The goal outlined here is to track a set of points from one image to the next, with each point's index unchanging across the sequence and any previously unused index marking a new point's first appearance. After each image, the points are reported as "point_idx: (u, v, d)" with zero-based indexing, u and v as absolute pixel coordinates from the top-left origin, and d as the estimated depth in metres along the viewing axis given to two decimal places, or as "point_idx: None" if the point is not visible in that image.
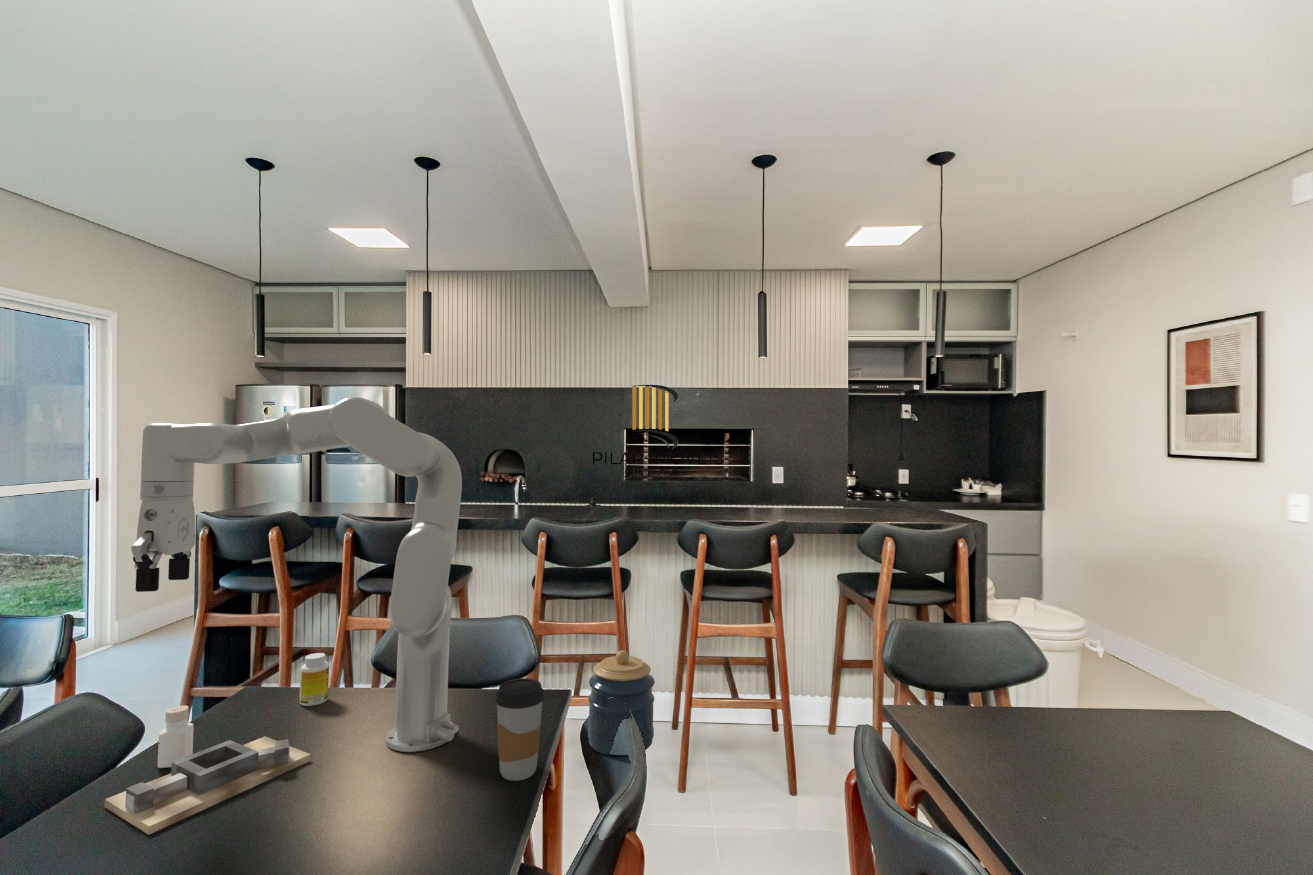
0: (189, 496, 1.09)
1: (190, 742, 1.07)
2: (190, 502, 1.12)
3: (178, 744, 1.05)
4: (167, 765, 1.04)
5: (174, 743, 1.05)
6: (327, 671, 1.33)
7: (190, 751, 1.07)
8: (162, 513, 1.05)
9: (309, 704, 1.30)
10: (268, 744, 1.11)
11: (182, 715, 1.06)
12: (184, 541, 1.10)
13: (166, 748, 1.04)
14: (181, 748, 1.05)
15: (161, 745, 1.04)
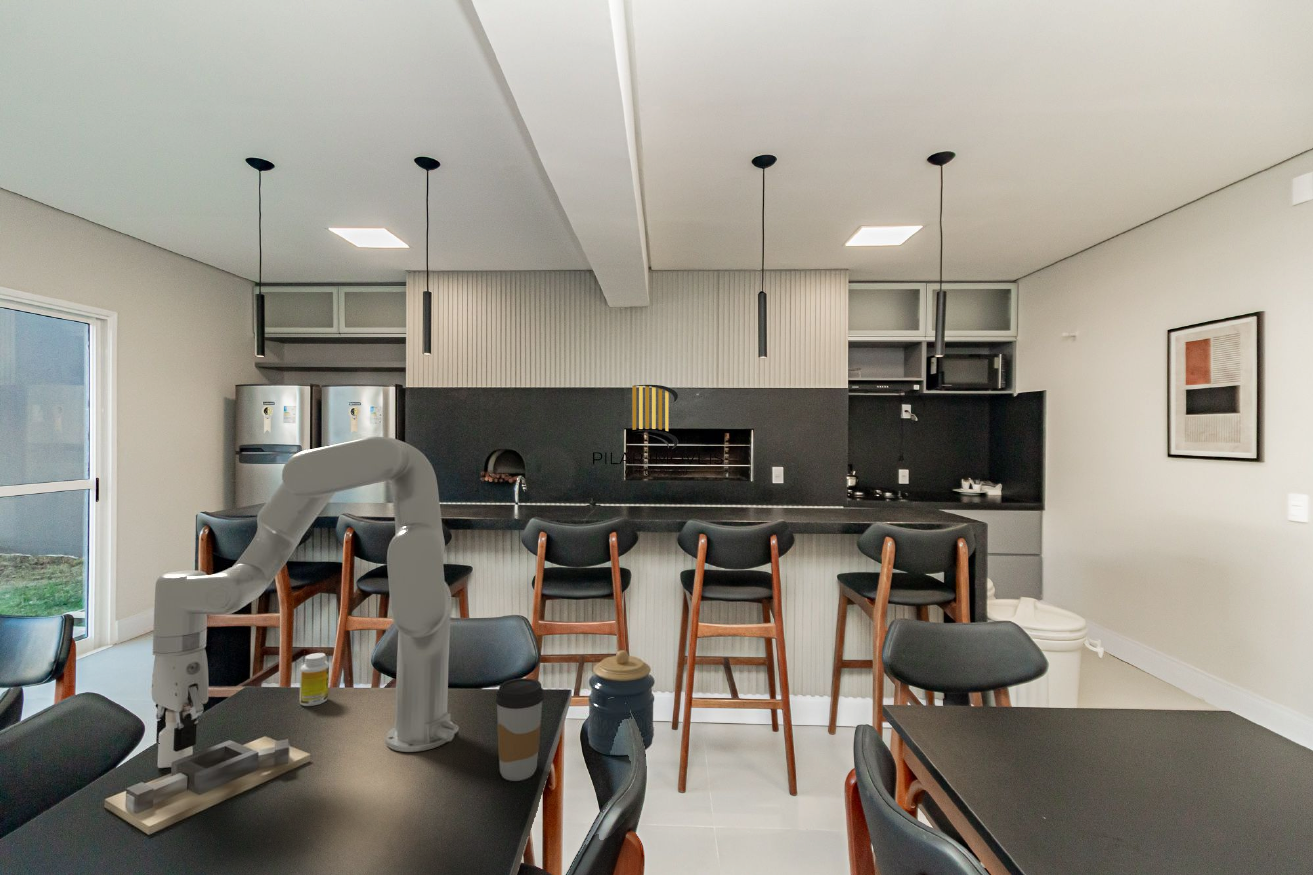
0: None
1: None
2: None
3: None
4: (167, 765, 1.04)
5: None
6: (327, 671, 1.33)
7: (190, 751, 1.07)
8: (204, 663, 1.06)
9: (309, 704, 1.30)
10: (268, 744, 1.11)
11: None
12: None
13: (166, 748, 1.04)
14: None
15: (161, 745, 1.04)
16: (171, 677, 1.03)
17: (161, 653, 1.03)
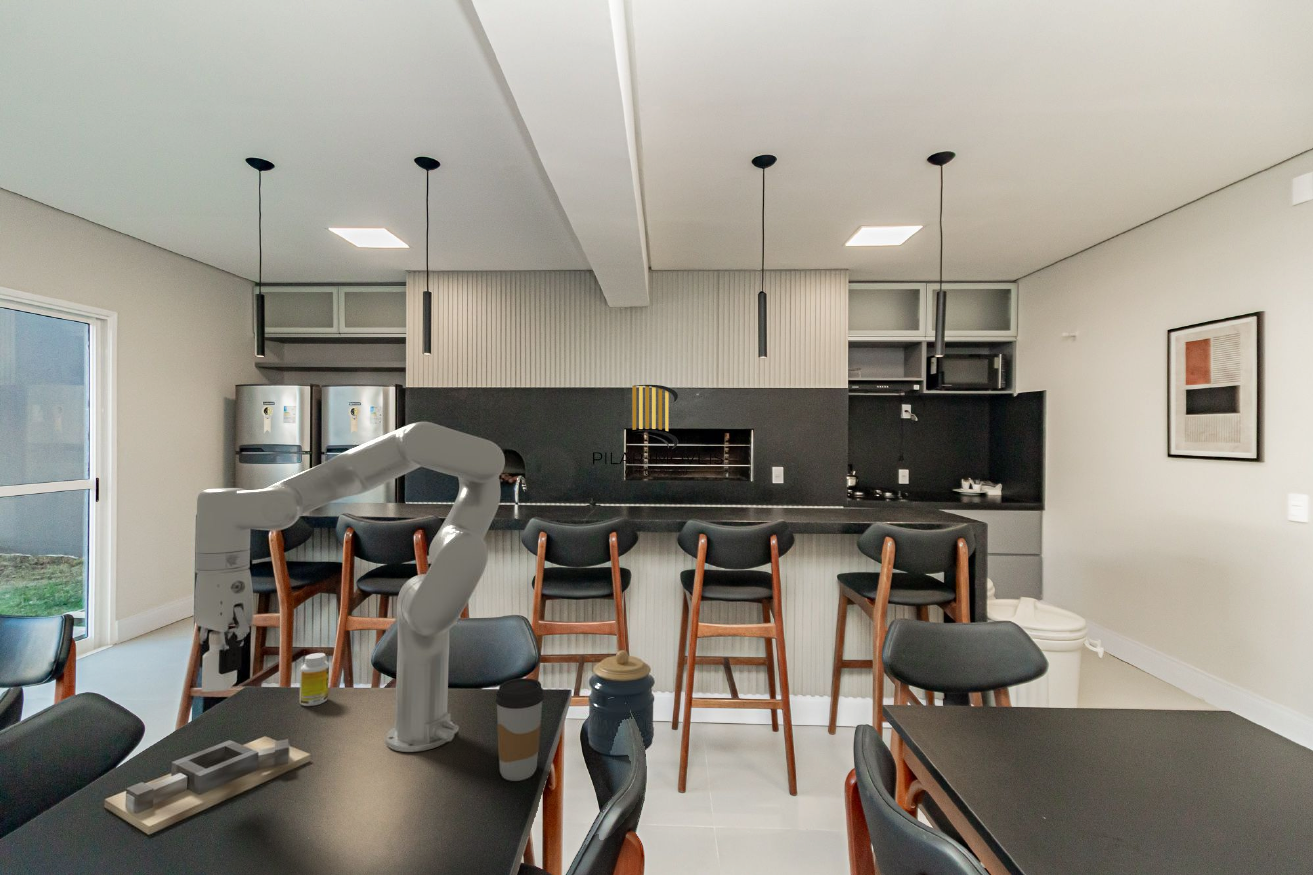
0: None
1: None
2: None
3: None
4: (212, 689, 0.99)
5: None
6: (327, 671, 1.33)
7: (235, 676, 1.02)
8: (249, 583, 1.01)
9: (309, 704, 1.30)
10: (268, 744, 1.11)
11: None
12: None
13: (210, 671, 0.99)
14: None
15: (205, 668, 0.99)
16: (215, 596, 0.98)
17: (205, 570, 0.98)
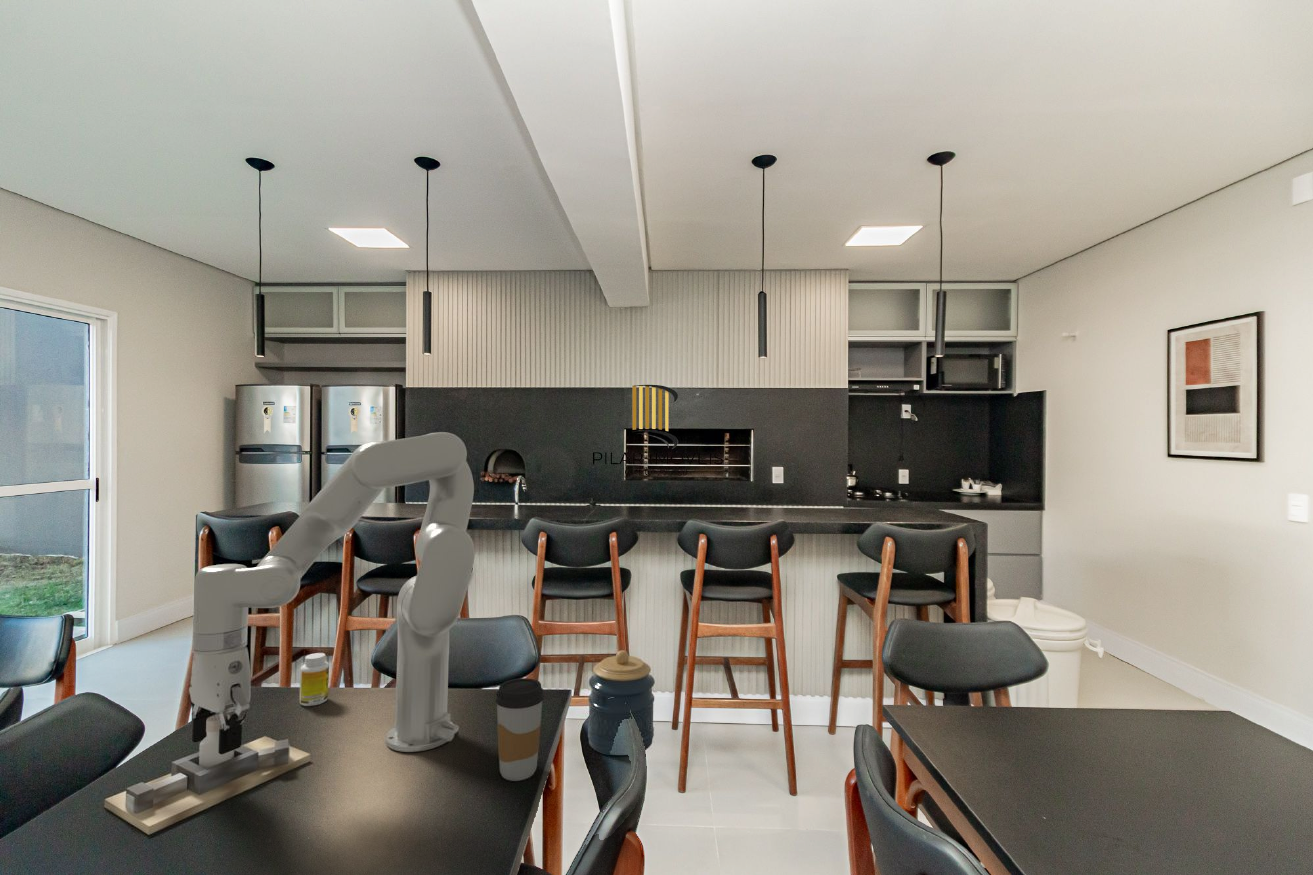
0: None
1: (231, 752, 1.01)
2: None
3: (220, 754, 0.99)
4: None
5: (216, 753, 0.99)
6: (327, 671, 1.33)
7: None
8: (246, 662, 1.00)
9: (309, 704, 1.30)
10: (268, 744, 1.11)
11: None
12: None
13: (207, 759, 0.98)
14: (223, 759, 0.99)
15: (202, 756, 0.98)
16: (212, 677, 0.97)
17: (202, 651, 0.97)
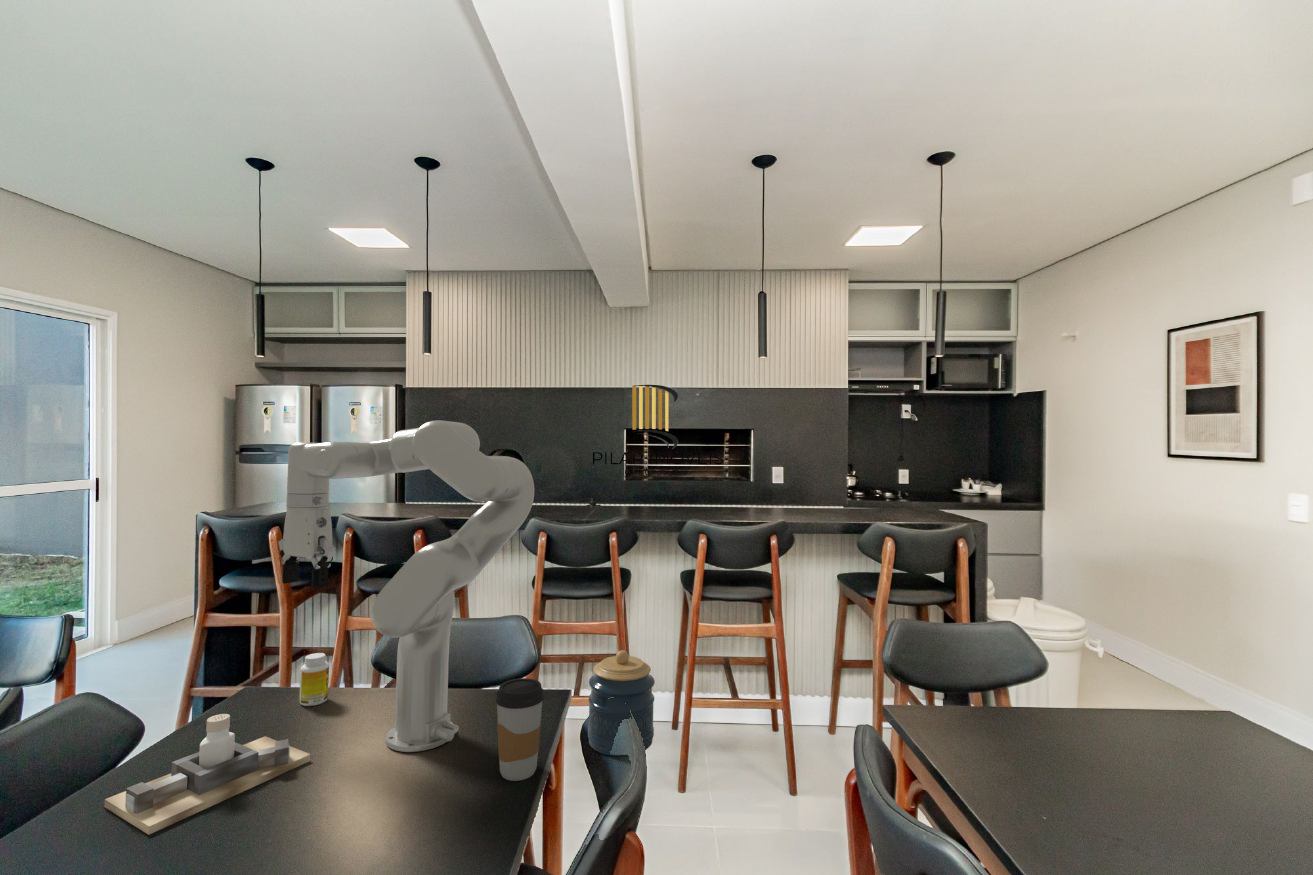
0: None
1: (231, 753, 1.01)
2: None
3: (220, 755, 0.99)
4: None
5: (216, 754, 0.99)
6: (327, 671, 1.33)
7: None
8: (329, 520, 1.23)
9: (309, 704, 1.30)
10: (268, 744, 1.11)
11: (223, 724, 1.00)
12: None
13: (207, 760, 0.98)
14: (223, 759, 0.99)
15: (202, 756, 0.98)
16: (304, 529, 1.20)
17: (295, 508, 1.20)
